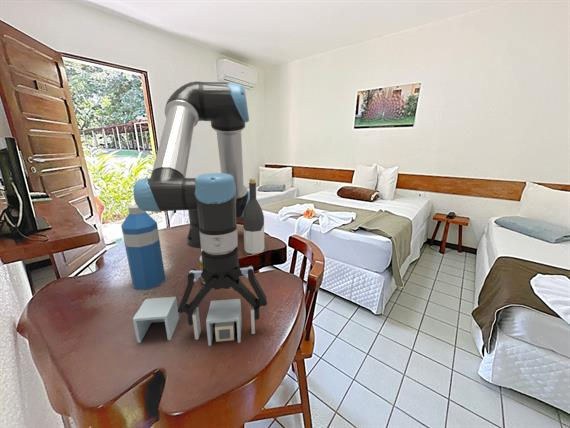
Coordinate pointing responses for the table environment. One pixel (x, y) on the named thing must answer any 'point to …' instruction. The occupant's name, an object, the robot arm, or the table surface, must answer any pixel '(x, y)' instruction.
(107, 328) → the table surface
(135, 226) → the water bottle
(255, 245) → the wine bottle
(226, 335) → the letter cube
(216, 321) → the cover far
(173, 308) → the cover near
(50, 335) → the table surface
